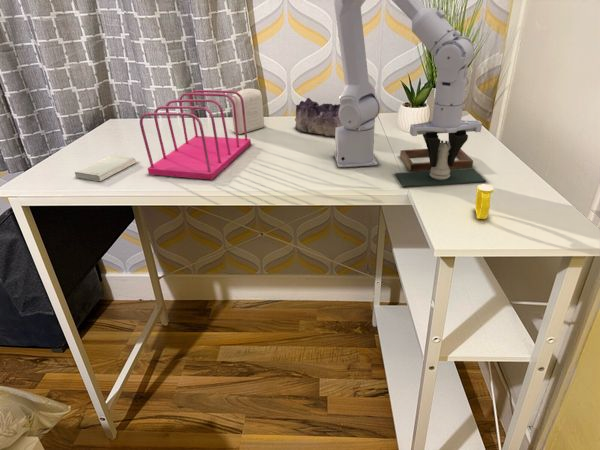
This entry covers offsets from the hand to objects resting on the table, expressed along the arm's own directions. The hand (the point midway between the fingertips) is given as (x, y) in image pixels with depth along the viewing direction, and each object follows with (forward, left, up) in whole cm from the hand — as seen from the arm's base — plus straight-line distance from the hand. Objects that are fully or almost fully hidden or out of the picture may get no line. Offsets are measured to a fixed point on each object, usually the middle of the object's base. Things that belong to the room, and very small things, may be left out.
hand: (441, 164), depth 95 cm
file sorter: (-56, +21, -3) cm, 60 cm away
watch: (+2, -18, -3) cm, 18 cm away
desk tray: (+2, +10, -3) cm, 10 cm away
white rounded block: (-45, +44, -3) cm, 63 cm away
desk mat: (0, 0, -3) cm, 3 cm away
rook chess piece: (0, 0, -3) cm, 3 cm away
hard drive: (-80, +17, -3) cm, 82 cm away
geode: (-22, +38, -3) cm, 44 cm away
